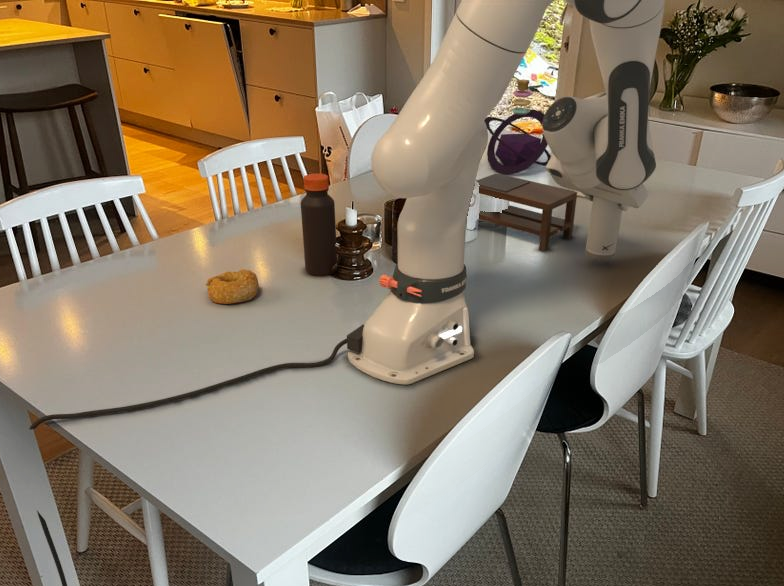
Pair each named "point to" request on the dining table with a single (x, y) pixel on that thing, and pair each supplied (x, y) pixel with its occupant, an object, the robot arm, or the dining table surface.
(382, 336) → the robot arm
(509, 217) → the coffee table
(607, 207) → the travel mug
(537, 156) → the decorative bottle
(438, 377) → the dining table surface
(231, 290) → the bagel
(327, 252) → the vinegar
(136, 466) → the dining table surface
